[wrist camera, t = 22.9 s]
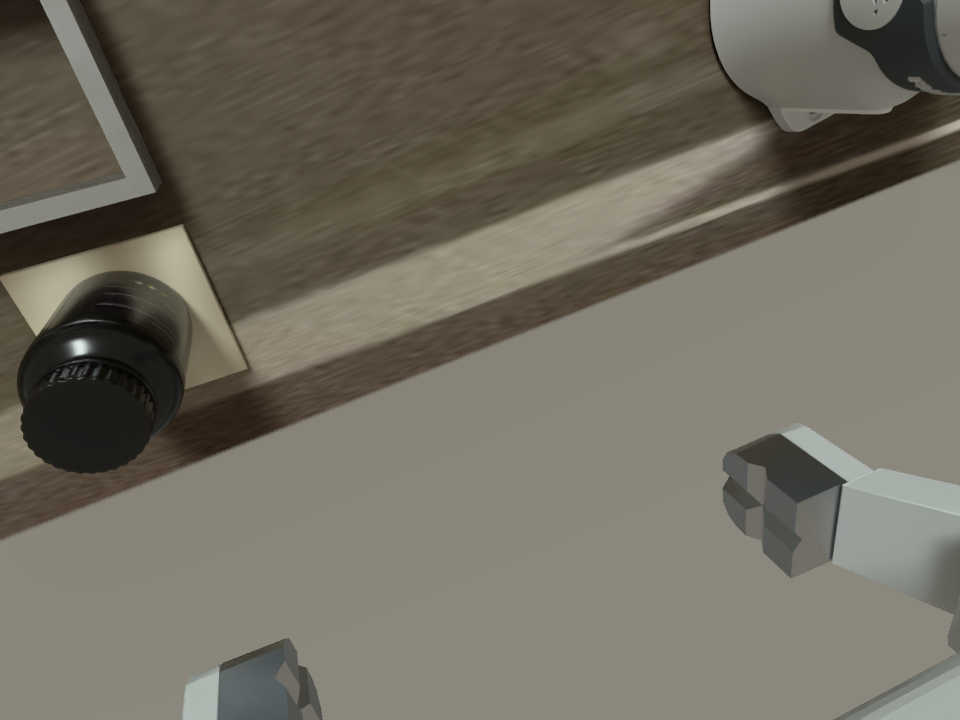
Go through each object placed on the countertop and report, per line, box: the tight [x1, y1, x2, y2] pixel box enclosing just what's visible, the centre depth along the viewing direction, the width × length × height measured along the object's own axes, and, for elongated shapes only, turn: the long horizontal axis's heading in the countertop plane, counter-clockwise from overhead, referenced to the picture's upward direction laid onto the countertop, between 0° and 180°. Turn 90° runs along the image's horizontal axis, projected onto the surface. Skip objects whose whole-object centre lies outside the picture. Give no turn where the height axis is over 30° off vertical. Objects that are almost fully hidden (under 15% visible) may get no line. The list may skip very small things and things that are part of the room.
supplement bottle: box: [17, 271, 193, 474], centre depth 31 cm, size 7×7×12 cm
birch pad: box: [0, 224, 247, 390], centre depth 36 cm, size 10×10×1 cm
